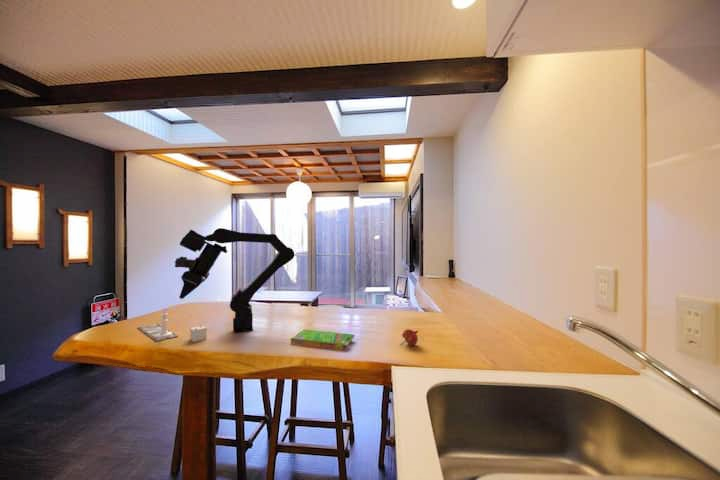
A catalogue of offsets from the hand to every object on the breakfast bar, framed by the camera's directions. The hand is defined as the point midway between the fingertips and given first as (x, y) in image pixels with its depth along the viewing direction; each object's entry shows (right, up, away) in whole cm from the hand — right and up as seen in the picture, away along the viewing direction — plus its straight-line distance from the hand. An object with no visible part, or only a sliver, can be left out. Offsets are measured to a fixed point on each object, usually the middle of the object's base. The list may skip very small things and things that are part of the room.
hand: (183, 295), depth 96 cm
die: (+7, -15, -3) cm, 17 cm away
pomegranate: (+81, -16, -7) cm, 83 cm away
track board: (-13, -15, +3) cm, 20 cm away
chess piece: (-6, -14, -2) cm, 16 cm away
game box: (+52, -16, -4) cm, 54 cm away
